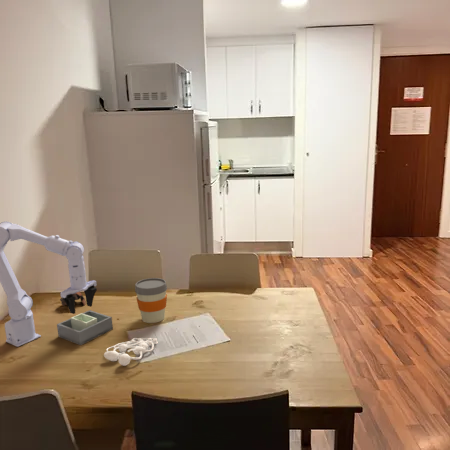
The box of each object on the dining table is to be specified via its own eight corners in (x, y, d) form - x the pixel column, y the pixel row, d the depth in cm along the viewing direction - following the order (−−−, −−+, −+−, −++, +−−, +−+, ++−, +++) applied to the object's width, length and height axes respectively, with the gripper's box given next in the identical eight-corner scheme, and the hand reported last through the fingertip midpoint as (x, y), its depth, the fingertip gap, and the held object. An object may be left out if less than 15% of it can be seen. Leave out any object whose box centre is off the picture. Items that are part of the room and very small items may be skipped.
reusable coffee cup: (152, 327, 171) (150, 291, 168) (131, 320, 179) (127, 284, 176) (175, 316, 181) (173, 281, 178) (153, 309, 188) (151, 275, 185)
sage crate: (87, 335, 164) (85, 323, 163) (72, 330, 169) (70, 317, 168) (98, 330, 168) (96, 318, 167) (82, 325, 173) (81, 313, 172)
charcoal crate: (80, 345, 159) (79, 332, 158) (58, 336, 167) (56, 324, 166) (112, 329, 171) (111, 317, 170) (90, 321, 179) (89, 310, 177)
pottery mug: (86, 308, 193) (74, 295, 189) (67, 318, 194) (55, 305, 190) (89, 292, 204) (78, 279, 200) (72, 301, 204) (60, 289, 201)
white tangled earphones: (139, 339, 165) (138, 328, 165) (168, 346, 157) (166, 335, 156) (97, 361, 150) (96, 349, 149) (126, 369, 142) (125, 357, 141)
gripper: (67, 282, 156) (71, 318, 159) (100, 271, 168) (103, 305, 171) (55, 279, 160) (59, 314, 163) (88, 268, 172) (91, 301, 175)
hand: (81, 309), depth 167 cm, fingers open, 7 cm apart
